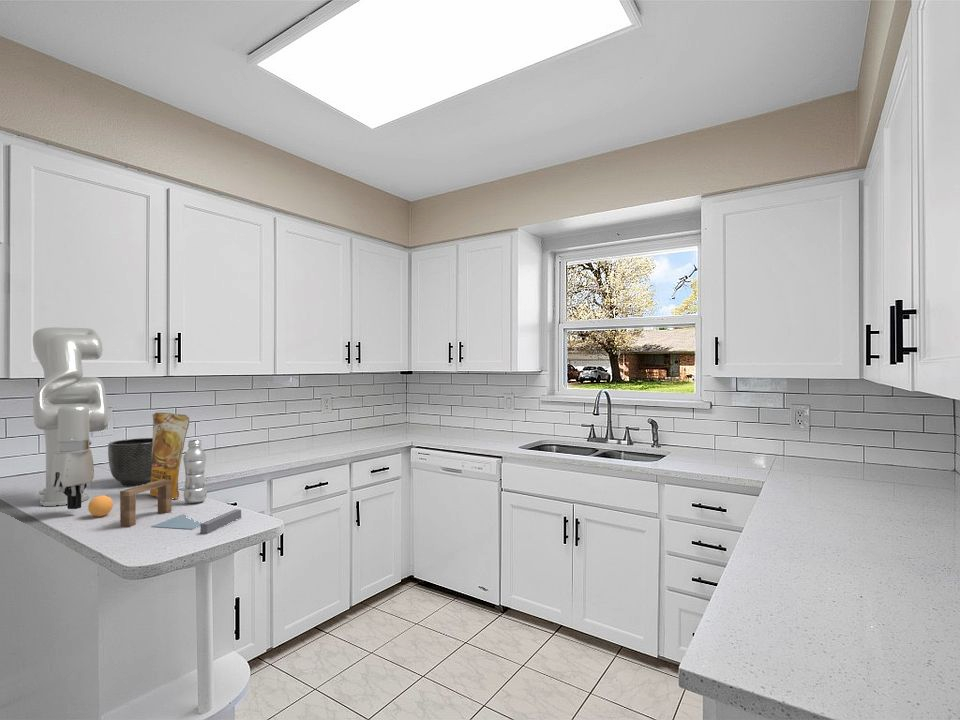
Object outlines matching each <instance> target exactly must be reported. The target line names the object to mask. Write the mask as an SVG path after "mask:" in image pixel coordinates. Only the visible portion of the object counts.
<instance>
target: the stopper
mask: <svg viewBox="0 0 960 720" xmlns="http://www.w3.org/2000/svg"><path fill="white" fill-rule="evenodd" d="M219 515H220V516H218V517H216V518H213V519H211V520H209V521H206V522H204V523H201V524H200V527H199V528H200V530H199V531H200V534H204V535H207V534H210V533H212V532H214V531H217V530H219V529H221V528H223V527H225V526H228V525H229V524H228V523H230V522H232V521H234V520H236V519H239V518H241V519H242V509H233V510H230V511H228V512H225V513H223V514H219ZM239 520H240V519H239ZM236 521H237V520H236ZM234 522H235V521H234ZM232 523H233V522H232ZM227 524H228V525H227ZM230 524H231V523H230ZM224 525H225V526H224ZM220 527H221V528H220ZM218 528H219V529H218ZM216 529H217V530H216Z"/></svg>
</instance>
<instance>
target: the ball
mask: <svg viewBox="0 0 960 720" xmlns="http://www.w3.org/2000/svg"><path fill="white" fill-rule="evenodd" d="M113 507H114V501H113V499H112V498H111V497H110V496H107V495H104V494H103V495H101V494H100V495H98V496H95V497H94V498H92V499H91V500H90V501H89V503H88V505H87V509H88V512H89V513H90V515H92V516H94V517H103V516H106V515H108V514H109V513H111V511H112V510H113Z"/></svg>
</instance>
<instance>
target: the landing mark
mask: <svg viewBox="0 0 960 720" xmlns="http://www.w3.org/2000/svg"><path fill="white" fill-rule="evenodd" d="M184 514H185V513H183V514H179V515H178V516H174V517H172V518H170V519H166V520H164V521H162V522H159V523H156V524H154V525H151V528H160V529H162V528H163V529H177V530H192V529H193V530H194V528H195V529H197V528H199V527H198V526H200V524H201V522H200V523H199V522H198V521H196V522H194V520H193V519H192V518H191V520H190V519H188V518H186V515H184ZM187 517H188V516H187ZM196 527H197V528H196Z"/></svg>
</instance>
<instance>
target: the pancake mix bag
mask: <svg viewBox="0 0 960 720" xmlns="http://www.w3.org/2000/svg"><path fill="white" fill-rule="evenodd" d="M189 425H190V417H189V416H188V415H186V414H176V413H171V412H155V413H153V414H152V438H153V439H152V443H153V445H152V471H151V482H150V483H152V482H155V481H159V480H162V479H167V480H171V496H172V498H175V499H174V500H178V499H179V498H180V491H179V475H180V468H181V462H182V455H183V450H184V448H185V447H184V446H185V442H186V437H187V434H188V429H189ZM149 496H151V497H153V496H155V497H154V498H157V497H158V488H155V489H152V490H149ZM178 497H179V498H178ZM177 498H178V499H177Z"/></svg>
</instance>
